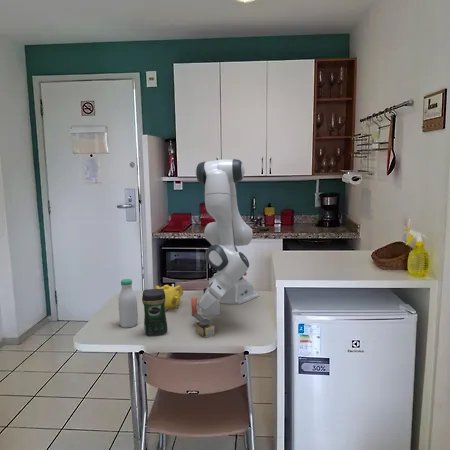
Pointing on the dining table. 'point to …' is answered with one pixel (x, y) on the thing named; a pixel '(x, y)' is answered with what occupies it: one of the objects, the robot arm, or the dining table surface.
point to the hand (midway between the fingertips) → (197, 307)
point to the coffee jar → (154, 312)
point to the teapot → (171, 296)
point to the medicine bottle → (212, 308)
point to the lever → (195, 314)
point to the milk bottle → (127, 305)
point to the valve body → (204, 330)
